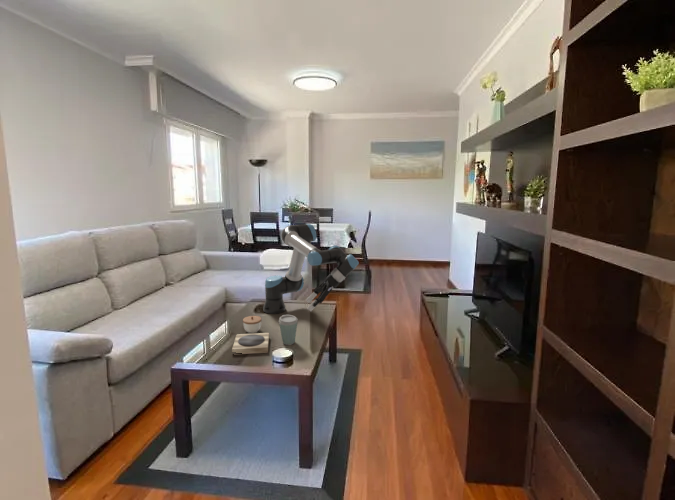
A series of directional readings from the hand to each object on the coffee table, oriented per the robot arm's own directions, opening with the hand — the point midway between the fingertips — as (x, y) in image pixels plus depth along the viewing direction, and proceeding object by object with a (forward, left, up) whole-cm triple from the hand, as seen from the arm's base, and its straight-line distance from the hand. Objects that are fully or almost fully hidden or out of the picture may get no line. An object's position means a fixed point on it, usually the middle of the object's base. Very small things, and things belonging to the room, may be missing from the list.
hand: (308, 305), depth 197 cm
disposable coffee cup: (0, -11, -22) cm, 24 cm away
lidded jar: (-18, -32, -22) cm, 43 cm away
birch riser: (+1, -31, -22) cm, 38 cm away
